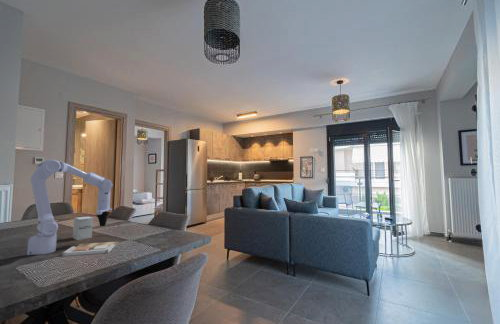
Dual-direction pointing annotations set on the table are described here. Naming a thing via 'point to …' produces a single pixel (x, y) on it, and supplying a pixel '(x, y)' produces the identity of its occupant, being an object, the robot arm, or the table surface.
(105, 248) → the cream tile
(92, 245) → the oak board
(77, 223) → the supplement box
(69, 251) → the grey tray
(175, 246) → the table surface
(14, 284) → the table surface
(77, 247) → the terracotta tile
